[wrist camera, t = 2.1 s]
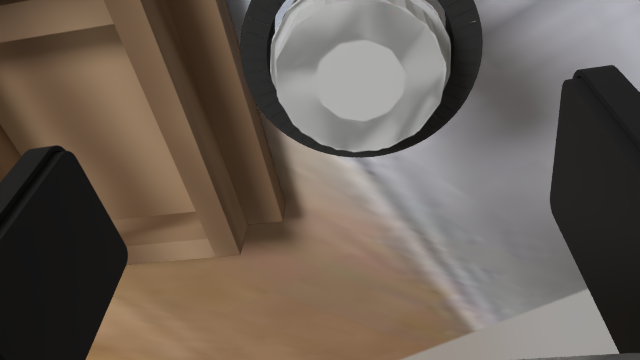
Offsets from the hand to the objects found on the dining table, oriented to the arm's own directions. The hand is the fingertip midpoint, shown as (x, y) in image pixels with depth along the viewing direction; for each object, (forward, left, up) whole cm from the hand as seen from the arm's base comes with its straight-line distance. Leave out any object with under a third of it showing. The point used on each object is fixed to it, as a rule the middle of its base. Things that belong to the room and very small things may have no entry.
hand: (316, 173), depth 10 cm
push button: (-1, 0, -12) cm, 12 cm away
